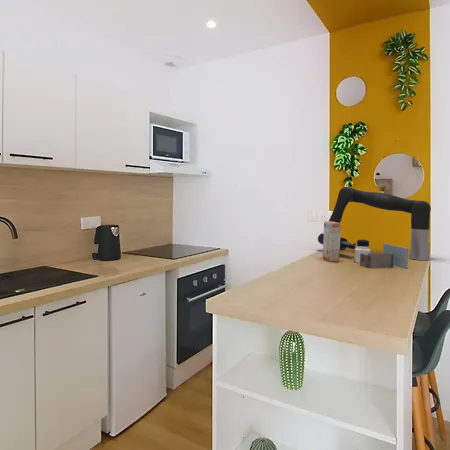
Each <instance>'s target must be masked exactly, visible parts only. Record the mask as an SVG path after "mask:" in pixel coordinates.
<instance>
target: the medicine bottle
mask: <svg viewBox="0 0 450 450" xmlns="http://www.w3.org/2000/svg"><path fill="white" fill-rule="evenodd" d="M360 254H366V255H368V254H372V251H371V249H370V241H369V240H368V239H357V241H356V248H355V249H354V259H353V261H354V262H355V263H356V264H360Z"/></svg>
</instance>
